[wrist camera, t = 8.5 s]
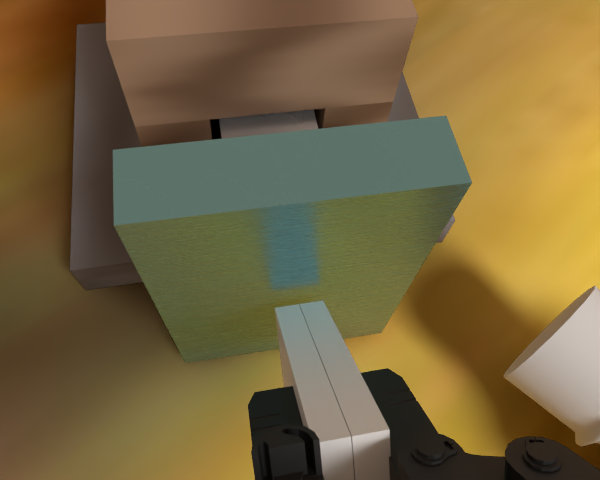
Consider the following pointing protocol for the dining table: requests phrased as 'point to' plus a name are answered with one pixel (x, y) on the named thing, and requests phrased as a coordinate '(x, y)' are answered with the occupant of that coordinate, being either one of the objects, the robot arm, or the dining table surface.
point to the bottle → (566, 368)
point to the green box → (284, 223)
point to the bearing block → (219, 88)
